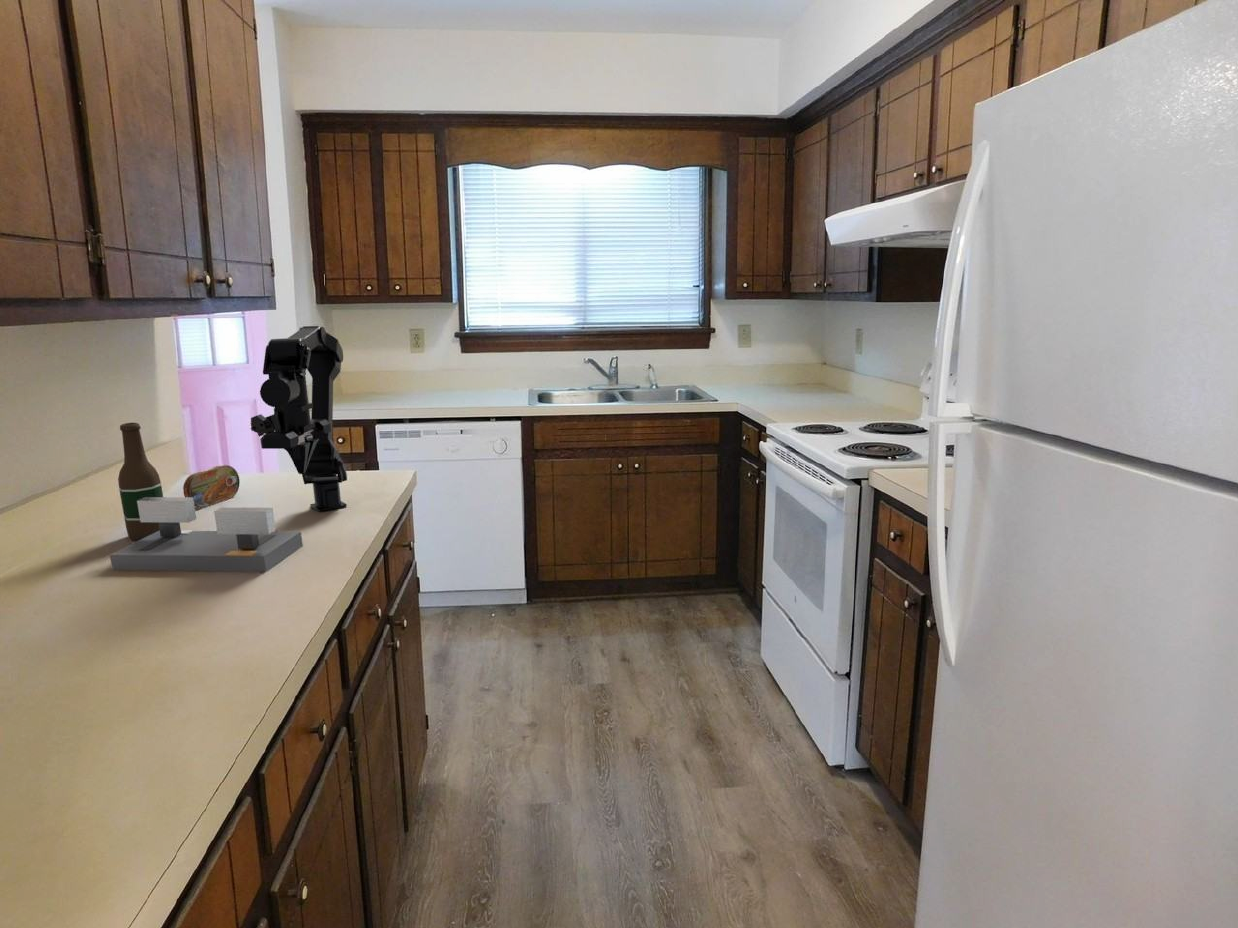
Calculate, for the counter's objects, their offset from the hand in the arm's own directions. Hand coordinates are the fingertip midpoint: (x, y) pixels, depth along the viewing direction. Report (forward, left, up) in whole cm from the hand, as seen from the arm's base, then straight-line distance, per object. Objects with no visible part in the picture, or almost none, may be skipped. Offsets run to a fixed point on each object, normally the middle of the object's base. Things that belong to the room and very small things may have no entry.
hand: (301, 473), depth 167 cm
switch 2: (+15, -16, -9) cm, 23 cm away
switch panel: (+5, -20, -12) cm, 24 cm away
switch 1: (-4, -25, -9) cm, 27 cm away
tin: (-37, -10, -12) cm, 40 cm away
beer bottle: (-19, -27, -12) cm, 35 cm away
